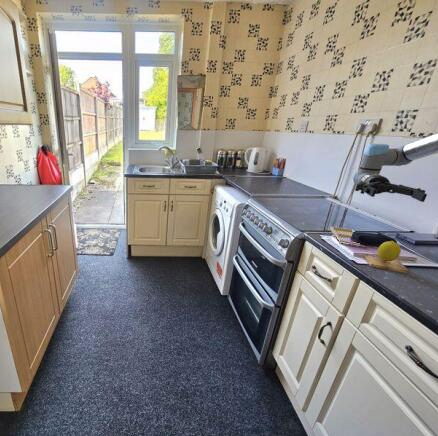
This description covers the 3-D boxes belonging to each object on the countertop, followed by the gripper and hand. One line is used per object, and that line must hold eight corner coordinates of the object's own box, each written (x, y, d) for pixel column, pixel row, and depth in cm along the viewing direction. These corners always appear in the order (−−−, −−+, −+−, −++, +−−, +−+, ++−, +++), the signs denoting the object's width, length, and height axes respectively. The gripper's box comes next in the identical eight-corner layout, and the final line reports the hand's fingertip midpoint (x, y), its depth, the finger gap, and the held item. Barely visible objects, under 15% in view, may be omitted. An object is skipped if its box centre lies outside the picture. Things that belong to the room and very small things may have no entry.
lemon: (370, 258, 88) (378, 238, 85) (380, 256, 90) (389, 236, 87) (388, 266, 83) (397, 245, 80) (399, 264, 85) (408, 243, 82)
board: (396, 261, 88) (397, 259, 88) (407, 273, 82) (409, 270, 81) (362, 255, 92) (363, 253, 92) (370, 266, 85) (371, 263, 85)
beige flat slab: (352, 232, 113) (353, 229, 112) (365, 247, 98) (366, 244, 98) (329, 228, 116) (330, 226, 115) (339, 243, 102) (340, 240, 101)
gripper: (409, 195, 101) (441, 210, 83) (336, 188, 110) (351, 200, 92) (416, 177, 98) (452, 189, 80) (341, 172, 108) (358, 181, 89)
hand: (398, 195), depth 86 cm, fingers open, 13 cm apart
